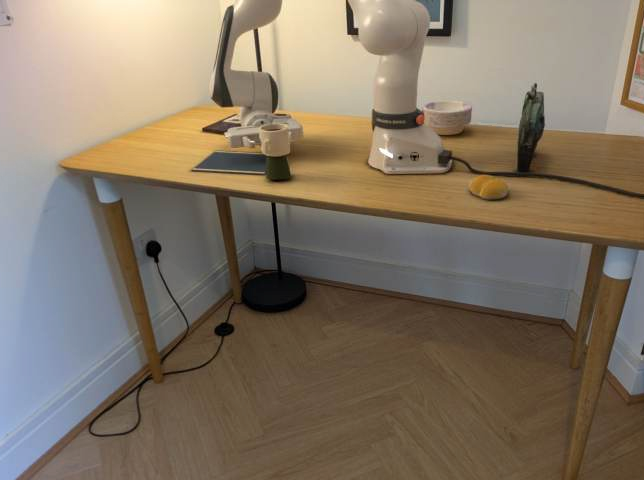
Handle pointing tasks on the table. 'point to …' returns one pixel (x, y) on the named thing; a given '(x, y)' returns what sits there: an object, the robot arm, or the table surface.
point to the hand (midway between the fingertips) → (270, 142)
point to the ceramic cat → (530, 128)
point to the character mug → (275, 150)
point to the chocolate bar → (223, 125)
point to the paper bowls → (447, 116)
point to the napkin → (234, 163)
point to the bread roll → (488, 187)
